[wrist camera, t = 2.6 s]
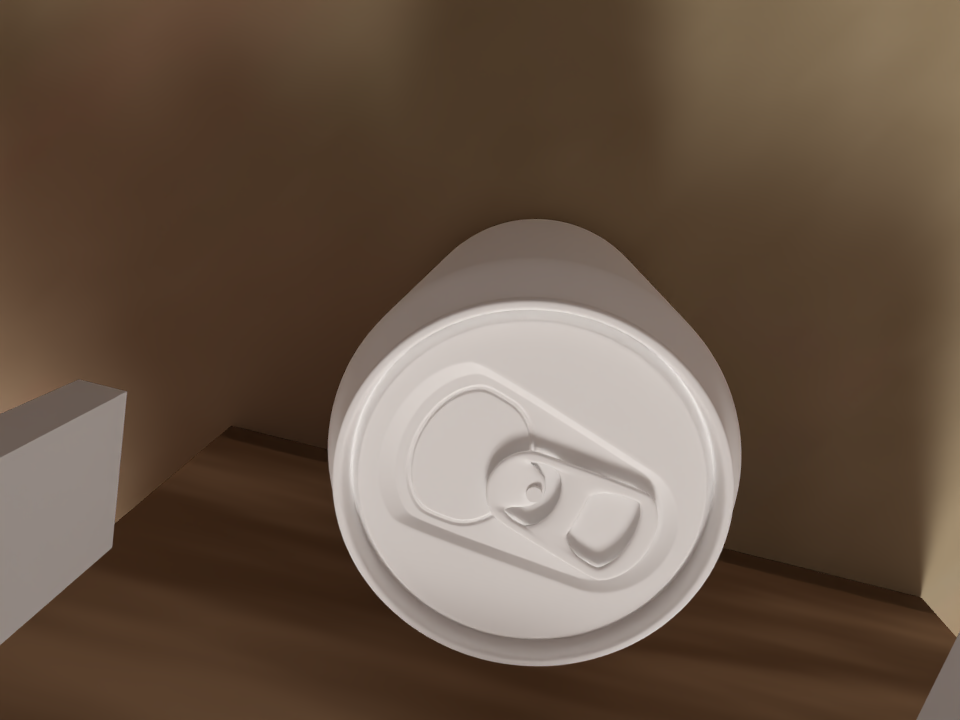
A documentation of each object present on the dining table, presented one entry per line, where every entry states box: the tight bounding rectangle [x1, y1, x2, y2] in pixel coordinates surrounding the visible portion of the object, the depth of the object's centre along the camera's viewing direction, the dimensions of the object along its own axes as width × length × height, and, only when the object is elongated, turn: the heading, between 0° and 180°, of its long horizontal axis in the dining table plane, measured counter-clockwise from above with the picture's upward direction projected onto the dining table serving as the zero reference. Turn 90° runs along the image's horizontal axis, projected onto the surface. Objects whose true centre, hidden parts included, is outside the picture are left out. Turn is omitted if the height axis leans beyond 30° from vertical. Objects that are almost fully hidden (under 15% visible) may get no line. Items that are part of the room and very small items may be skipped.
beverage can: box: [328, 219, 741, 666], centre depth 18 cm, size 8×8×12 cm
